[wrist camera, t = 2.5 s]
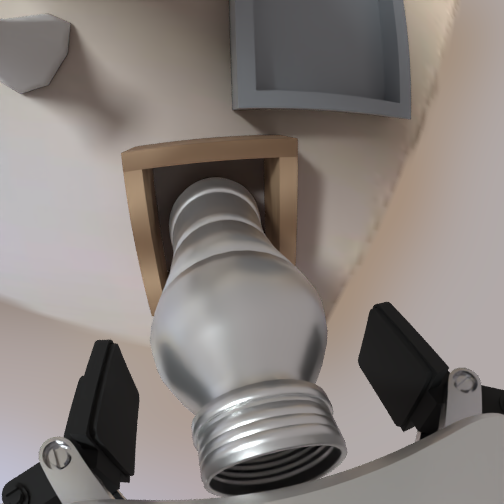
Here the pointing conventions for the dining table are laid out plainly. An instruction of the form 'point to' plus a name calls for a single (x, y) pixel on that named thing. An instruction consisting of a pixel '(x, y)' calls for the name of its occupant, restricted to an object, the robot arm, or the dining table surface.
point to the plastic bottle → (243, 347)
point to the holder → (207, 150)
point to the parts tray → (320, 56)
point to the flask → (32, 50)
